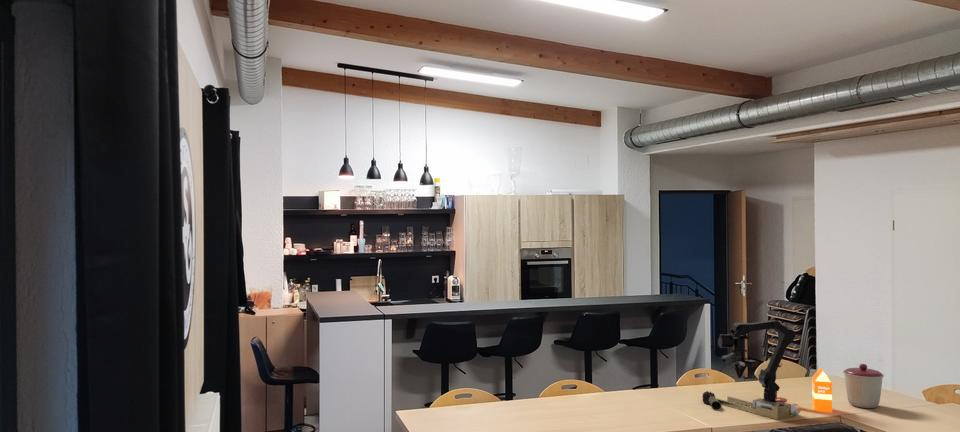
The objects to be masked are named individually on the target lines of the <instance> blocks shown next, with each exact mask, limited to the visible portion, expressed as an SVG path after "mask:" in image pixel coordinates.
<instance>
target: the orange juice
mask: <svg viewBox="0 0 960 432" xmlns="http://www.w3.org/2000/svg"><path fill="white" fill-rule="evenodd" d="M811 380H812V384H811V385H812V386H811V387H812V390H811V391H812V396H811V397H812V408H813V410H814V411H815V412H822V413H833V382H832V381H831V379H830V378H829V377H828V376H827V374H826V373H825V372H824V369H822V367H821V366H820V367H819V368H818V370H817V371H816V372H815V374H814V375H813V376H812V377H811Z"/></svg>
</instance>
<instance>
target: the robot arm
mask: <svg viewBox="0 0 960 432" xmlns="http://www.w3.org/2000/svg"><path fill="white" fill-rule="evenodd" d="M765 330H774V331H775V332H776V333H778V335H777V344H776V346H775V348H774V350H773V352H772V355H771V357H770V359H769V362H768V364H767V366H766V367H765V369H763V368H761V369H760V371H759V374H758V375H757V376H758V382H759V383H760V384H761V386H762V388H763V398H761V399H762V400H764V401H768V402H772V403H775V402H778V401H776V398H778V392H779V390H780V386H779V385H778V383H776V380H777V371H778V368H779V366H780V363H781V362H782V360H783V357H784V355H785V352H786V350H787V348H788V347H789V346H790V345H791V344H792V343H793V342H794V340H795V339H796V336H797V333H796V331H795V330H793V329H791V328H788V327H786V326H785V325H783V324H782V323H781V322H780V321H778V320H775V319H771V320H765V321H757V322H750V323H749V322H734V323H733V324H732V326H731V329H730V330H729V332H728V333H727V334H722V333H721V334H719V337H718V338H717V346H718V348H720V349H721V348H722V349H723V348H724V349H725V348H726V349H730V348H731V353H728V354H726V355H722V356H721V357H720V359H721V362H723V363H727V364H730V366H732V367H733V368H734V370H735V373H736V375H737V378H738V379H741V378H742V376H743V374H744V372H745V371H746V369H747V368H752V369H753V368H756V367H757V368H758V367H759V361H757V360H753V359H748V357H746V353H747V352H748V349H746V340H750V337H749V336H748V334H750V333H751V332H755V331H757V332H758V331H765Z"/></svg>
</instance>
